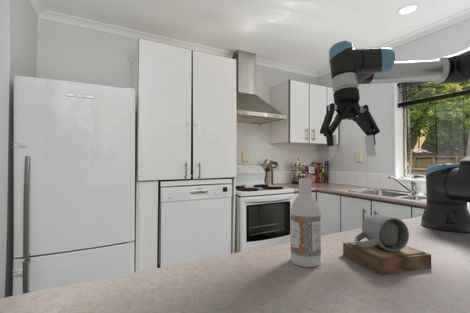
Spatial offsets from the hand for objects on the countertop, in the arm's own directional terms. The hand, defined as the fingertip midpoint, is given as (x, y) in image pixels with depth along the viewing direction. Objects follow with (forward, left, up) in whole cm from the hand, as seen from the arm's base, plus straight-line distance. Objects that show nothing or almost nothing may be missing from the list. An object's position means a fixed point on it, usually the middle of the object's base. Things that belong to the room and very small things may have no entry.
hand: (353, 156), depth 78 cm
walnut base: (+4, +15, -26) cm, 30 cm away
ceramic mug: (+5, +15, -23) cm, 28 cm away
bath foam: (+23, +11, -26) cm, 36 cm away
